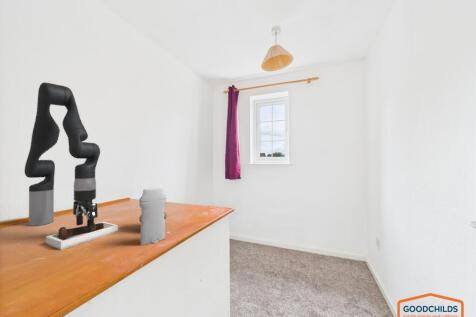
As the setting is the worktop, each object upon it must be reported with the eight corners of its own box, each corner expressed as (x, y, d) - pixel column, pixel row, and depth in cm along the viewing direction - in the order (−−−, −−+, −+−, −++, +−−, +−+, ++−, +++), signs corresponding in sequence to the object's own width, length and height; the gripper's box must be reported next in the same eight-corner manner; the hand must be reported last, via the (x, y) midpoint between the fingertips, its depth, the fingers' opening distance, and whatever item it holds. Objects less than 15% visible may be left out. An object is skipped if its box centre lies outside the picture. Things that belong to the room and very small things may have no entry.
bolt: (103, 234, 90) (59, 244, 78) (100, 227, 92) (57, 235, 80) (106, 224, 88) (62, 233, 76) (102, 217, 91) (59, 224, 79)
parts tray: (46, 243, 78) (46, 236, 78) (102, 227, 96) (102, 221, 96) (61, 250, 72) (61, 241, 72) (117, 231, 91) (118, 225, 91)
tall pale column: (141, 247, 75) (141, 189, 75) (137, 243, 77) (137, 188, 78) (168, 239, 82) (168, 186, 82) (164, 236, 85) (164, 185, 85)
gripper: (66, 188, 84) (65, 226, 84) (84, 191, 78) (83, 232, 78) (86, 186, 91) (85, 221, 91) (104, 188, 85) (104, 226, 84)
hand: (85, 226), depth 84 cm, fingers open, 8 cm apart
